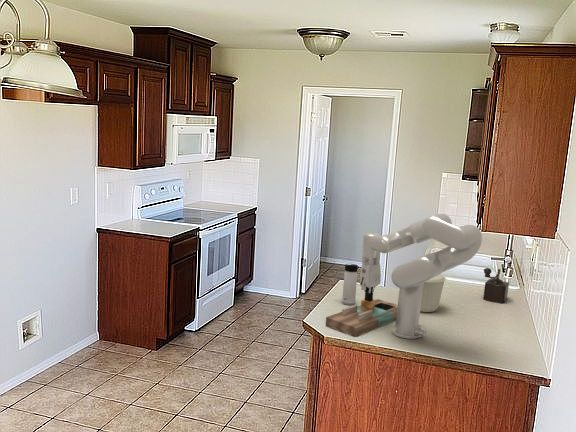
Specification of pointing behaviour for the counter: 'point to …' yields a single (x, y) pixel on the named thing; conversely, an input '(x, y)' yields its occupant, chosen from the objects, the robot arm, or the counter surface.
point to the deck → (362, 318)
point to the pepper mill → (495, 288)
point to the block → (367, 305)
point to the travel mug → (350, 284)
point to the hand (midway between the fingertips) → (368, 300)
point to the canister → (432, 293)
